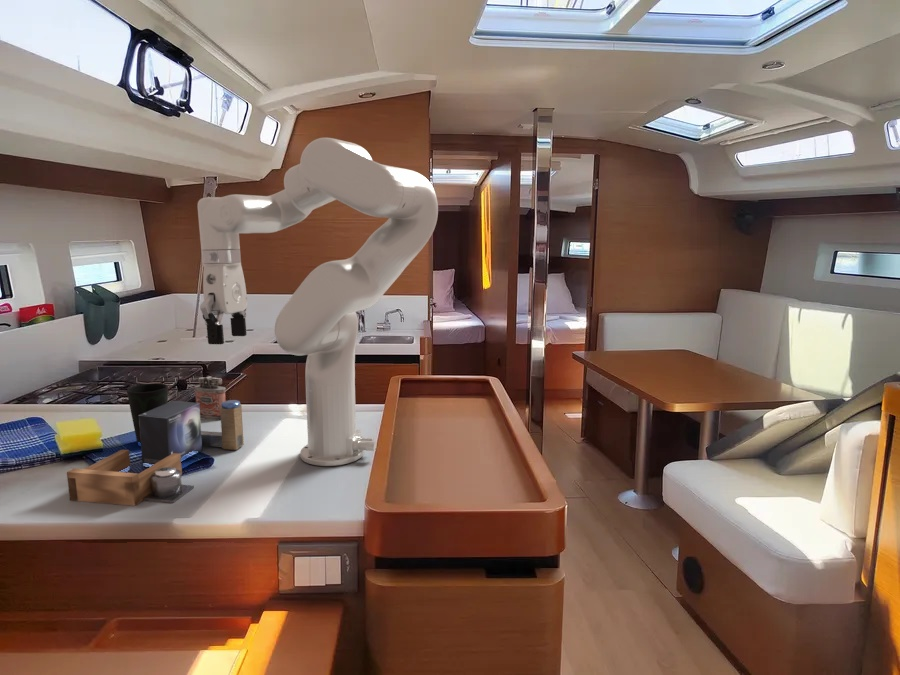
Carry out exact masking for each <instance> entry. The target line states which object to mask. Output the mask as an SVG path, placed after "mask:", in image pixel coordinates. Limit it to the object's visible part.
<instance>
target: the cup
mask: <svg viewBox="0 0 900 675" xmlns="http://www.w3.org/2000/svg"><path fill="white" fill-rule="evenodd" d="M126 393H127V400H128V404H129V410H130V414H131V418H132V423H133V424H132V425H133V429H134V434H135V438H136V439H135V440H136V443H137V442H140V443H141V439H140V427H139V415H140V414H142V413H145V412H147V411H150V410H152V409H154V408H157V407H159V406H162V405H164V404H166V403H169V402H168V396H169V395H168V394H169V386H168V385H167V384H165V383H161V382H160V383H159V382H157V383H155V382H154V383H153V382H152V383H144V384H143V383H142V384H138V385H133V386H131V387H129V388H127V390H126Z"/></svg>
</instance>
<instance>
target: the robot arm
mask: <svg viewBox="0 0 900 675" xmlns="http://www.w3.org/2000/svg"><path fill="white" fill-rule="evenodd" d="M299 162H300V163H298V164H296V165H293V166H292V167H290V168H288V170H286V171H285V174H284V177H283V187H284V189H282V190H280V191H278V192H275V193H274V194H270V195H255V194H253V195H252V194H236V193H234V194H228V195H225V196H221V197H220V196H217V197H216V196H213V197H212V196H211V197H210V196H206V197H202V198H200V199H199V200H198V201H197V217H198V228H199V240H200V250H201V251H200V252H201V261H202V267H203V273H202V274H203V275H202V281H203V282H202V283H203V284H202V286H203V288H202V290H203V301H202V302H201V304H200V305H199V308H200V311H201V314H202V318H203V320H204V325H205V326H206V335H207V343H208V344H209V345H223V344H225V339H224V327H223V326H224V325H223V324H221V323H222V319H223V316H224V314H225V315H231V317H230V318H229V319H230V329H231V335H232V337H246V336H247V323H246V321H247V320H246V317H247V313H246V311H247V308H248V304H249V303H248V297H247V296H248V295H247V288H246V287H247V286H246V282H245V281H246V280H245V277H244V271H243V266H242V259H241V256H242V255H241V246H240V245H241V244H240V243H241V242H240V234H270V233H272V234H273V233H276V232H278V231H282V230H284V229H287V228H289V227H291V226H294V225H296V224H298V223H301V222H302V221H304V220H305V219H306V218H307V217H308V216H309V215H310V214H311V213H312V211H313V210H315V209H319V208H321V207H323V206H324V205H327V204H330V203H331V202H334V201H338V202H340V203H342V204H345V205H347V206H348V207H350V208H352V209H353V210H356V211H358V212H359V213H362V214H364V215H368V216H371V217H375V218H388V219H387V220H386V221H385V222H384V223H383V224H382V225H381V226H379V227H378V228H377V229H376V230H375V231H374V232H373V233H371V235H369V237H368V238H367V239H366V241H365V242H364V244H363V245H362V246H361V247H360V248H359V249H358V250H357V251H356V252H355V254H353V255H352V256H351V257H348V258H346V259H339V260H338V259H336V260H330V261H327V262H323V263H321V264H319V265H318V266H316V267H315V268H314V269H313V270H312V271H310V272H309V274H308V275H307V276H306V277H305V278H304V280H303V281H302V282H301V283H300V285H299V286H298V287H297V289H295V291H294V293H292V294H291V296H290V297H289V299H288V300H287V301H286V303H284V305H283V307H282V308H281V310H280V311H279V312H278V315H277V317H276V319H275V324H274V337H275V340H276V342H277V344H278V346H279V347H280V349H282V350H283V351H284V352H286V353H288V354H290V355H292V356H293V355H294V356H300V357H301V356H307V357H306V362H305V371H304V372H305V373H304V374H305V398H306V399H305V401H306V403H305V404H306V422H307V423H306V426H307V429H306V430H307V444H306V445H304V446H303V447H302V448H301V449H300V451H299V453H300V459H301V460H302V461H303V462H305V463H306V464H310V465H314V466H317V467H318V466H319V467H320V466H321V467H333V466H342V465H347V464H350V463H351V464H352V463H353V462H355V461H357V460H359V459H360V458H362V457H363V456H364V455H365V451H367V452H376V450H375V447H376V448H377V441H375V439H374V437H363V436H362V434H361V429H357V421H356V420H357V418H356V417H357V415H356V385H355V384H356V380H355V379H356V369H355V367H356V363H355V362H356V347H357V340H358V334H359V318H358V314H357V312H360V311H364V310H367V309H369V308H371V307H374V306H375V305H376V303H378V302H379V300H380V299H381V298H382V297H383V296H384V294H386V292H387V291H388V290H389V288H390V287H391V286H392V285H393V284H394V283H395V281H397V279H398V278H399V277H400V276H401V275H402V273H403V272H404V270H405V269H406V268H407V267H408V266H409V265H410V264H411V262H412V261H413V260H414V259H415V258H416V257H417V255H418V254H420V252H422V250H423V249H424V247H425V246H426V244H427V243H428V242H429V240H430V238H431V236H433V233H434V231H435V228H436V225H437V223H438V222H437V221H438V215H439V205H438V204H439V202H438V198H437V194H436V191H435V188H434V187H433V184H431V182H430V181H429V179H427V178H426V177H425V176H424V175H423V174H422V173H419V172H417V171H415V170H412V169H408V168H403V167H397V166H392V165H386V164H381V163H379V162H378V161H374V160H373V158H372V156H371V155H370V153H369V152H368V151H367V150H366V149H365V148H364V147H363V146H361V145H359V144H357V143H354V142H350V141H345V140H341V139H338V138H333V137H319V138H315V139H314V140H312V141H311V142H310V143H308V144H307V145H306V147H305V148H304V149H303V150H302V153H301V156H300V161H299Z"/></svg>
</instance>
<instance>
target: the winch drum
mask: <svg viewBox="0 0 900 675" xmlns="http://www.w3.org/2000/svg"><path fill="white" fill-rule="evenodd" d="M151 483H152V492H151V493H150V494H148V495H147V496H145V497H144V498H143V501H144V502H145V501H146V502H147V501H148V502H155V503H156V502H157V503H158V502H159V503H167V504H168V503H170V504H174V503H175V502H176V501H178V500H179V499H180V498H182V497H183V496H186V494H188V493H189V492H190V491H191V490H193V489H194V488H195V487H194V485H191V484H190V485H188V484H182V475H181V471H180V470H178V469H176V468H174V467H165V468H161V469H158V470H157V471H156V472H155V473H153V474H152V475H151ZM143 501H142V502H143Z"/></svg>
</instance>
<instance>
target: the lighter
mask: <svg viewBox="0 0 900 675" xmlns="http://www.w3.org/2000/svg"><path fill="white" fill-rule="evenodd" d="M198 383H199V384H198V385H195V386H193V388H194V393H195V403H200V420H207V421H208V420H209V421H221V414H220V408H221V403H222V402H224V401H227V400H226V391H227V388H226V387H225V386H221V385H222V384H223V379H222V378H221V377H220V378H219V377H213V376H210V375H207V376H206V377H202V376H201V377H198ZM219 385H220V386H219Z"/></svg>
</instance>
